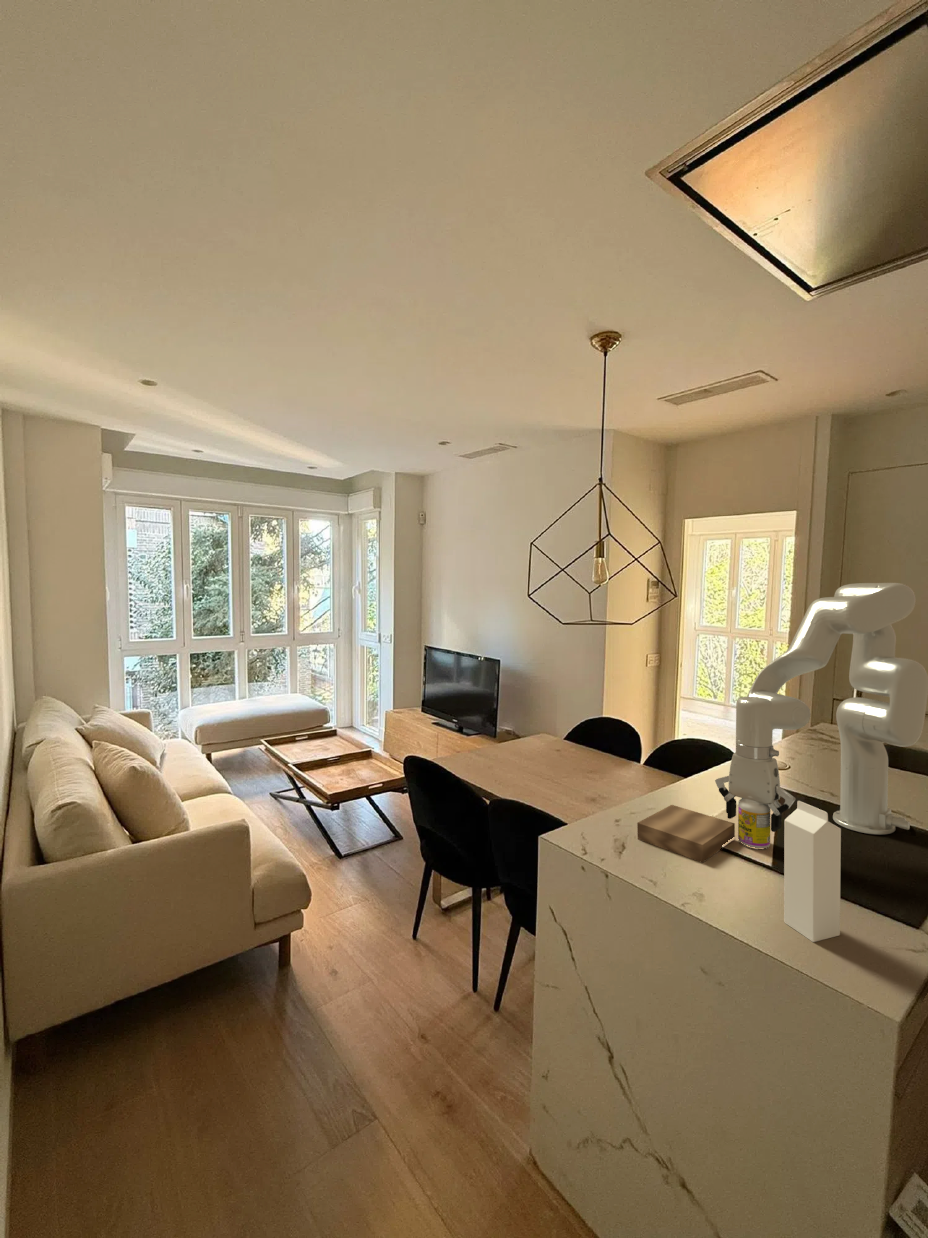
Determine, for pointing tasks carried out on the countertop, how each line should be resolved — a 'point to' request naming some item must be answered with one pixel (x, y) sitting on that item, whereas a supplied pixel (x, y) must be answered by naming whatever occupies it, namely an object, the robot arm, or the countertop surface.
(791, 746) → the countertop surface
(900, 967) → the countertop surface
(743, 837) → the supplement bottle
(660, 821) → the plinth
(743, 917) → the countertop surface
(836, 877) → the milk
